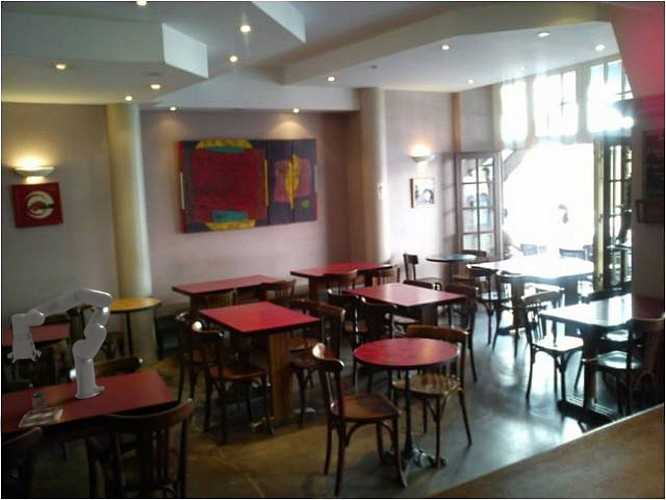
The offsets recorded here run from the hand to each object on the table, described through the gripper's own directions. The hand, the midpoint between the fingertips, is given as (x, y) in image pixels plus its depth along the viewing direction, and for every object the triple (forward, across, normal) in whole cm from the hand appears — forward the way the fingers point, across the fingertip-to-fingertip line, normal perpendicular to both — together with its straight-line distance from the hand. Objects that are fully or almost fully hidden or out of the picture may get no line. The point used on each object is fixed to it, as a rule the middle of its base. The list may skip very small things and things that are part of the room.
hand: (26, 368), depth 322 cm
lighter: (+23, -6, +2) cm, 24 cm away
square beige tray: (+22, -13, +17) cm, 31 cm away
